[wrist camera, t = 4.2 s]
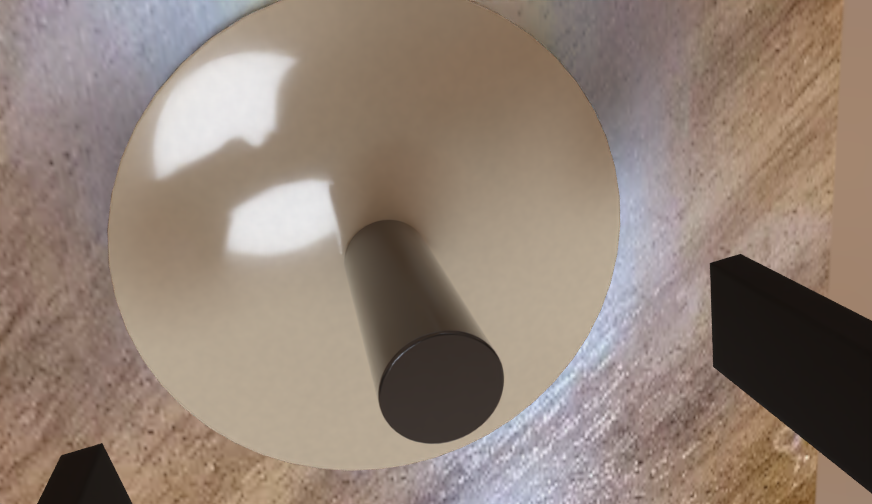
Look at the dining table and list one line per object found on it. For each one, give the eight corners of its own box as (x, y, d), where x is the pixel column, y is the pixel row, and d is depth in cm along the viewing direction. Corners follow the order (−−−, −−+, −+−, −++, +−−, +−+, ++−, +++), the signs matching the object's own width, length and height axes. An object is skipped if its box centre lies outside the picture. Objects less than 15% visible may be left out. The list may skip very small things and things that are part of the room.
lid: (580, -65, 20) (797, -123, 12) (622, 378, 26) (781, 547, 18) (21, 52, 18) (-214, 85, 9) (216, 505, 24) (182, 768, 16)
